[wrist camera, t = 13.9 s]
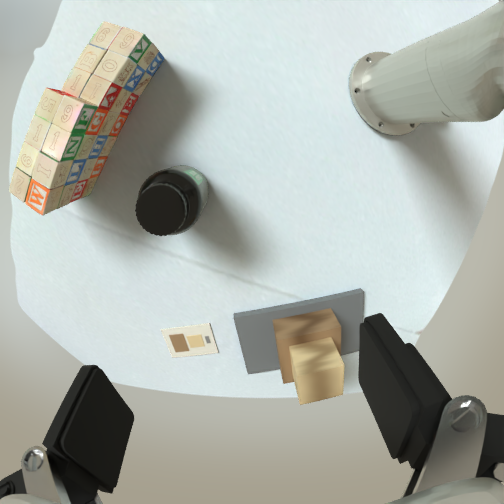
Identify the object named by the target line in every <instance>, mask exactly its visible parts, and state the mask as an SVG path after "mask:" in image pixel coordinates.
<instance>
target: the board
mask: <svg viewBox="0 0 504 504" xmlns="http://www.w3.org/2000/svg"><path fill="white" fill-rule="evenodd" d="M363 304H364V292H363V290H362V289H356V290H352V291H348V292H343V293H339V294H334V295H329V296H325V297H320V298H315V299H310V300H305V301H300V302H295V303H290V304H285V305H280V306H274V307H269V308H263V309H258V310H252V311H246V312H240V313H234V321H235V325H236V329H237V333H238V337H239V341H240V345H241V349H242V353H243V357H244V361H245V365H246V368H247V372H248V374H253V373H259V372H265V371H271V370H276V369H280V364H279V359H278V352H277V346H276V340H275V333H274V327H273V321H272V320H274V319H280V318H285V317H290V316H295V315H300V314H305V313H310V312H315V311H319V310H324V309H329V308H331V309H332V311H333V313H334V315H335V316H336V318H337V320H338V322H339V324H340V325H341V355H345V354H349V353H352V352H356V351H359V327H360V324H361V323H363Z"/></svg>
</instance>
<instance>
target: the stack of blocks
mask: <svg viewBox="0 0 504 504" xmlns="http://www.w3.org/2000/svg"><path fill="white" fill-rule="evenodd" d="M164 59H165V58H164V57H163V55H162V54H161V53H160V51H159V50H158V49H157V47H156V46H155V45H154V44H153V43H152V42H151V41H150V40H149V39H148V38H147V37H146V35H145V34H143V33H140V32H137V31H134V30H131V29H129V28H125V27H121V26H118V25H115V24H111V23H108V22H103V23H102V24H101V25H100V27H99V28H98V30H97V31H96V33H95V34H94V35H93V37H92V39H91V40H90V42H89V44H87V46H86V47H85V49H84V50H83V52H82V53H81V55H80V57H79V58H78V60H77V62H76V63H75V66H74V67H73V69H72V70H71V72H70V74H69V76H68V78H67V80H66V82H65V84H64V86H63V88H62V91H60V90H55V89H51V88H46V89H45V91H44V93H43V95H42V97H41V99H40V102H39V104H38V106H37V109H36V111H35V115H34V117H33V119H32V121H31V124H30V127H29V130H28V132H27V135H26V138H25V141H24V143H23V145H22V148H21V151H20V154H19V158H18V161H17V164H16V168H15V170H14V173H13V177H12V181H11V184H10V188H9V192H10V193H12V194H13V195H14V196H16V197H17V198H18V199H20V200H21V201H22V202H25V203H26V204H27V205H28V206H29V207H31V208H32V209H33V210H35V211H36V212H38V213H39V214H41V215H45V214H47V213H49V212H51V211H53V210H55V209H58V208H60V207H63V206H65V205H67V204H69V203H71V202H73V201H75V200H77V199H79V198H83V197H86V196H88V195H90V194H91V192H92V190H93V187H94V185H95V183H96V180H97V178H98V176H99V175H100V172H101V170H102V168H103V166H104V164H105V162H106V159H107V157H108V155H109V153H110V151H111V149H112V147H113V145H114V143H115V141H116V139H117V137H118V134H119V132H120V130H121V128H122V126H123V124H124V123H125V121H126V119H127V117H128V115H129V113H130V111H131V110H132V108H133V106H134V104H135V103H136V101H137V99H138V97H139V96H140V95H141V94H142V92H143V91H144V89H145V88H146V86H147V84H148V83H149V81H150V80H151V78H152V76H153V75H154V74H155V72H156V71H157V69H158V68H159V66H160V65H161V63H162V62H163V60H164Z"/></svg>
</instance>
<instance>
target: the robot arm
mask: <svg viewBox="0 0 504 504" xmlns="http://www.w3.org/2000/svg"><path fill="white" fill-rule="evenodd" d="M366 60H367V61H366ZM349 89H350V95H351V98H352V101H353V104H354V106H355V108H356V110H357V111H358V113H359V114H360V116H361V117H362V118H363V119H364V120H365V121H366V122H367V123H368V124H369V125H370V126H371V127H373V128H374V129H376V130H378V131H380V132H381V133H385V134H388V135H404V134H408V133H410V132H412V131H413V130H415V129H416V128H417V127H418V126H419V124H420V123H430V122H484V121H488V120H491V119H493V118H495V117H496V116H498V115H499V114H500V113H501V111H502V110H503V109H504V0H502V1H500V2H498V3H496V4H495V5H493V6H492V7H490V8H488V9H487V10H485V11H483V12H482V13H480V14H478V15H476V16H474V17H473V18H471V19H469V20H467V21H465V22H462V23H460V24H458V25H455V26H453V27H451V28H449V29H446V30H444V31H442V32H439V33H437V34H434V35H432V36H430V37H427V38H425V39H423V40H420V41H418V42H416V43H414V44H412V45H409V46H407V47H405V48H403V49H401V50H399V51H397V52H395V53H393V54H390V53H386V52H373V53H369V54H367V55H365V56H363V57H362V58H360V59H359V60H358V61H357V62H356V63H355V64H354V66H353V68H352V70H351V73H350V77H349ZM355 91H356V92H357V93H355ZM378 124H379V125H378ZM359 383H360V386H361V388H362V390H363V393H364V395H365V397H366V399H367V401H368V404H369V406H370V408H371V410H372V413H373V415H374V417H375V420H376V422H377V424H378V427H379V429H380V431H381V433H382V436H383V438H384V440H385V443H386V445H387V448H388V450H389V453H390V455H391V457H392V458H393V459H395V458H398V461H399V463H400V464H401V463H403V462H405V461H409V464H410V466H411V468H413V472H412V474H411V476H410V479H409V481H408V483H407V486H406V488H405V490H404V492H403V495H402V496H401V499H398V500H395V501H393V502H390V503H386V504H504V486H503V485H502V484H501V482H504V415H498V414H491V413H487V410H486V408H485V405H484V404H483V403H482V402H481V401H480V400H479V399H477V398H476V397H473V396H469V395H465V396H459V397H456V398H454V399H452V398H451V397H450V395H449V394H448V392H447V391H446V390H445V388H444V387H443V385H442V384H441V382H440V381H439V379H438V378H437V377H436V375H435V374H434V373H433V371H432V370H431V368H430V367H429V366H428V364H427V363H426V361H425V360H424V359H423V357H422V356H421V355H420V353H419V352H418V351H417V349H416V348H415V347H414V346H413V345H412V344H411V343H407V344H405V343H404V342H403V341H402V339H401V338H400V337H399V335H398V334H397V333H396V331H395V330H394V329H393V327H392V326H391V325H390V323H389V322H388V321H387V319H386V318H385V317H384V315H383V314H382V313H378V314H375V315H372V316H369V317H366V318H365V319H364V323H361V324H360V327H359ZM133 422H134V415H133V412H132V411H131V409H130V408H129V407H128V405H127V404H126V403H125V401H124V400H123V399H122V397H121V396H120V395H119V393H118V392H117V391H116V389H115V388H114V386H113V385H112V383H111V382H110V381H109V379H108V378H107V376H106V375H105V373H104V372H103V370H102V369H100V368H99V367H98V366H96V365H84V366H82V367H81V369H80V371H79V373H78V374H77V376H76V378H75V379H74V381H73V383H72V385H71V387H70V389H69V391H68V392H67V394H66V396H65V398H64V400H63V402H62V404H61V406H60V408H59V410H58V412H57V414H56V416H55V418H54V420H53V422H52V424H51V426H50V428H49V430H48V432H47V434H46V437H45V439H44V441H43V443H42V444H43V445H44V446H45V447H46V448H47V451H45V450H44V449H43V448H42V447H40V446H34V447H31V448H29V449H28V450H27V451H26V452H25V453H24V455H23V457H22V461H21V467H22V469H20V470H19V471H17V472H15V473H13V474H11V475H9V476H7V477H6V478H4V479H2V480H1V481H0V504H103V503H102V501H101V500H100V497H99V495H98V493H97V490H98V489H99V490H100V491H102V492H107V493H112V492H113V489H114V487H116V485H117V482H118V478H119V474H120V470H121V466H122V462H123V458H124V454H125V450H126V447H127V443H128V439H129V436H130V432H131V429H132V425H133Z"/></svg>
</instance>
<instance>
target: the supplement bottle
mask: <svg viewBox="0 0 504 504" xmlns="http://www.w3.org/2000/svg"><path fill="white" fill-rule="evenodd" d="M208 195H209V188H208V184H207V181H206V179H205V177H204V176H203V175H202V173H201V172H200V171H198V170H197V169H195V168H193V167H190V166H185V165H180V166H174V167H171V168H167V169H164V170H161V171H158V172H156V173H154V174H153V175H151V176H150V177H149V178H148V179H146V181H145V182H144V183H143V185H142V187H141V189H140V191H139V195H138V200H137V204H136V210H135V211H136V216H137V219H138V221H139V223H140V225H141V226H142V227H143V229H145V230H146V231H147V232H150V233H151V234H154V235H159V236H163V235H164V236H166V235H177V234H180V233H183V232H185V231H187V230H188V229H190V228H191V227H192V226H193V225H194V224H195V223H196V221H197V220H198V218H199V216H200V214H201V212H202V210H203V209H204V207H205V205H206V202H207V200H208Z"/></svg>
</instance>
